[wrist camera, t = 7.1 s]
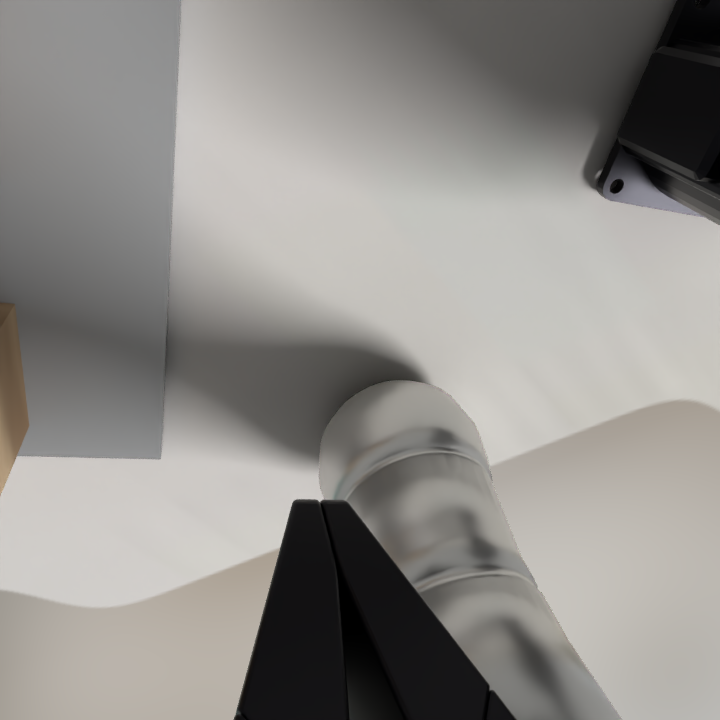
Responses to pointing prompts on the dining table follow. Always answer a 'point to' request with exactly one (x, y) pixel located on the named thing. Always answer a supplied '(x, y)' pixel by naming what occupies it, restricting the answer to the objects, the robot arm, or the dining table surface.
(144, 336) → the grey rubber mat
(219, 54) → the dining table surface
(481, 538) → the plastic bottle
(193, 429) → the dining table surface
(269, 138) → the dining table surface
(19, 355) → the oak block marked 7
